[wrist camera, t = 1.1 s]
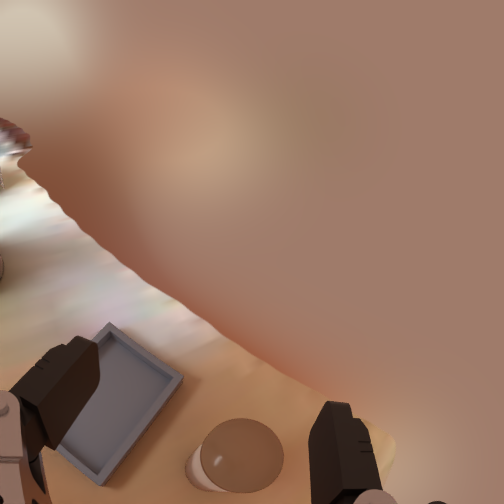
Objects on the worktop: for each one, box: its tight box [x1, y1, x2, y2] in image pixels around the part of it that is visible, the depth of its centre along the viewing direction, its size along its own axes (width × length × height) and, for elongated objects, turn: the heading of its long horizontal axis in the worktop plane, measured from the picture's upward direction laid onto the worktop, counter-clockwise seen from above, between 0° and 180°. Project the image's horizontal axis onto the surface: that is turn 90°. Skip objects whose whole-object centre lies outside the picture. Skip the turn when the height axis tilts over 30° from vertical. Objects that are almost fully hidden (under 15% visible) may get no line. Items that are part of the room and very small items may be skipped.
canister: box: [185, 418, 284, 493], centre depth 21 cm, size 5×5×14 cm
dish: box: [56, 322, 184, 487], centre depth 27 cm, size 11×16×2 cm
